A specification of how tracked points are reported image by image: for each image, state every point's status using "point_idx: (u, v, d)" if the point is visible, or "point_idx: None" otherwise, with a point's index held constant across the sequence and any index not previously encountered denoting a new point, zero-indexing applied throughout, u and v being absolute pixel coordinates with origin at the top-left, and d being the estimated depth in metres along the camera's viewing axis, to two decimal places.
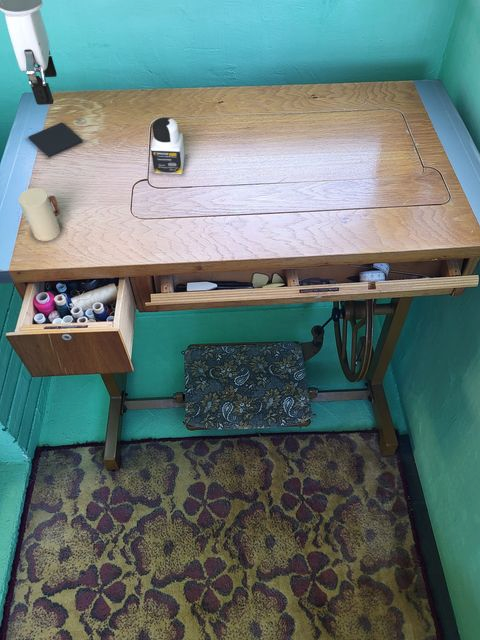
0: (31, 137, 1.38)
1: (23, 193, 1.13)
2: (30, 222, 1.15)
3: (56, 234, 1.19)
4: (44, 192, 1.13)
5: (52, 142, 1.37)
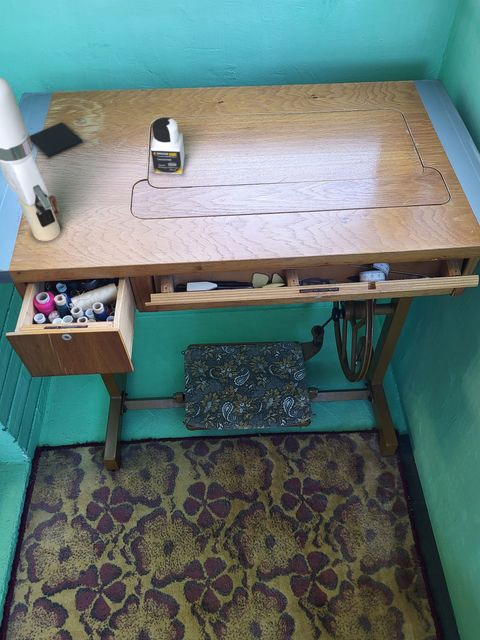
0: (31, 137, 1.38)
1: None
2: (30, 222, 1.15)
3: (56, 234, 1.19)
4: None
5: (52, 142, 1.37)
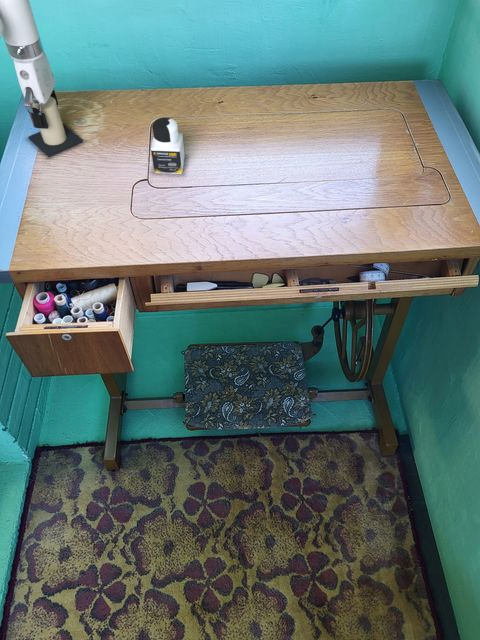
0: (31, 137, 1.38)
1: (44, 108, 1.28)
2: None
3: None
4: None
5: None
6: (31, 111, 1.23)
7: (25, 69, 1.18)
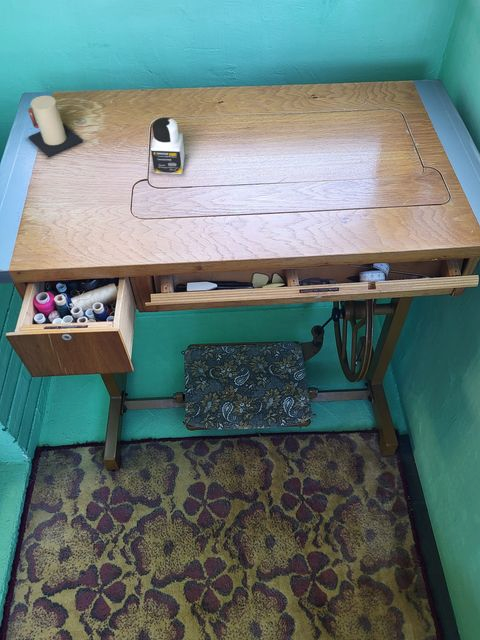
0: (31, 137, 1.38)
1: (44, 108, 1.28)
2: None
3: None
4: (32, 101, 1.30)
5: None
6: None
7: None
